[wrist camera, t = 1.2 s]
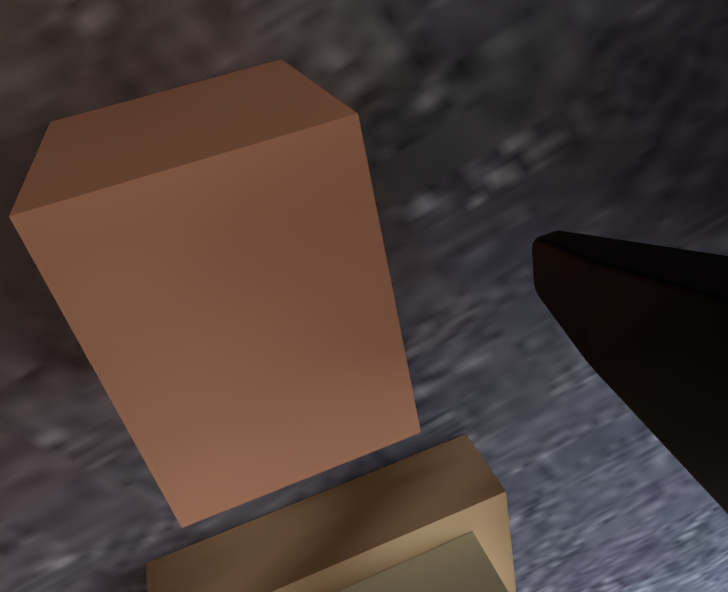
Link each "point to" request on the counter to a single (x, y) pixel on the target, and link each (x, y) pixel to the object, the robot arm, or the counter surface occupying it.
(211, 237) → the terracotta brick
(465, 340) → the counter surface
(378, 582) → the tower top
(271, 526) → the tower base
